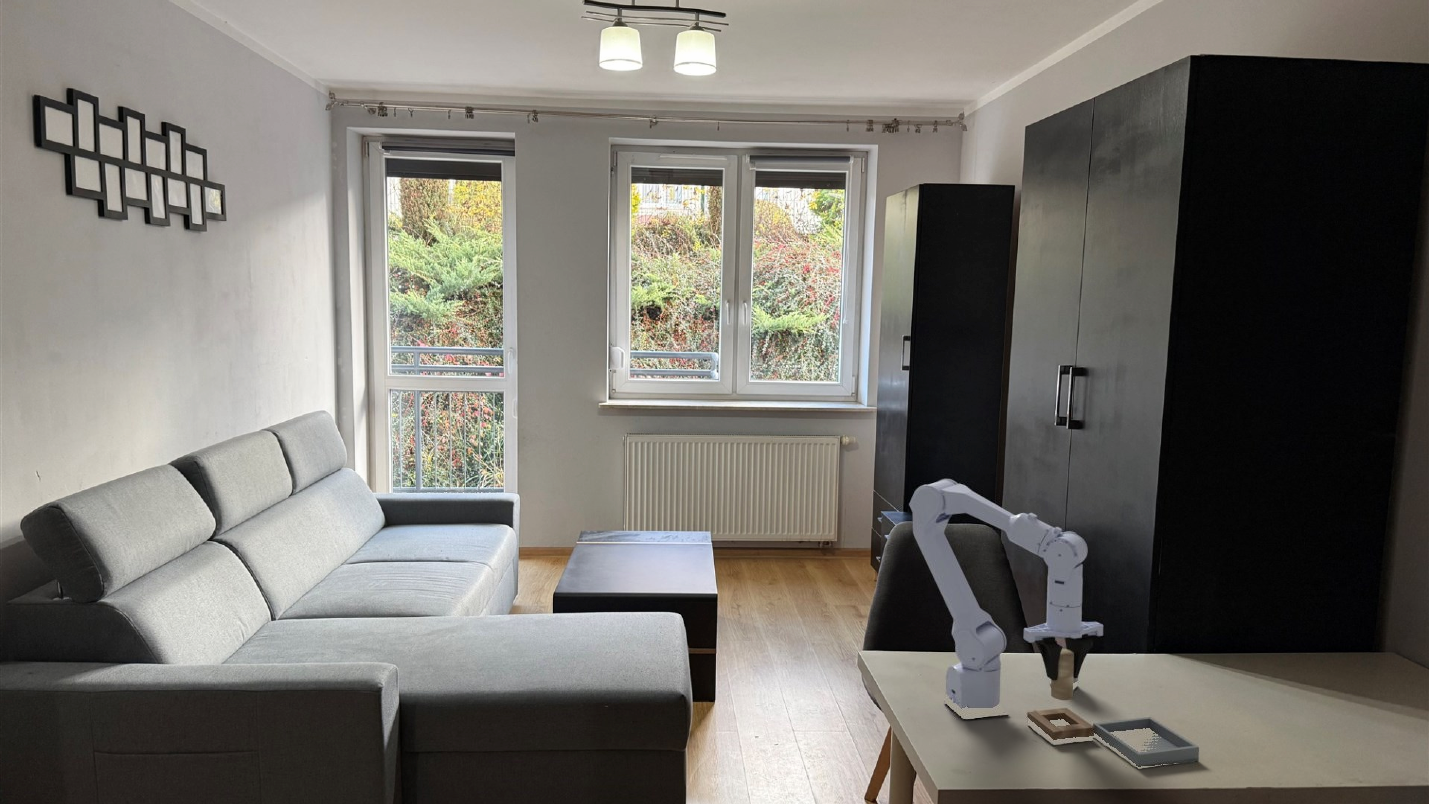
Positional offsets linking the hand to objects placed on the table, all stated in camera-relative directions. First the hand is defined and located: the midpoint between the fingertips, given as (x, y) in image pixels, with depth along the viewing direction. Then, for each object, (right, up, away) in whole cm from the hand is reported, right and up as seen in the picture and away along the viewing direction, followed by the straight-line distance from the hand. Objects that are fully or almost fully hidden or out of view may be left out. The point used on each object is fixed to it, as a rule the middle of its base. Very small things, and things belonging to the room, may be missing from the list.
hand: (1062, 677), depth 155 cm
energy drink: (+9, -9, +21) cm, 25 cm away
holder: (0, -10, +1) cm, 10 cm away
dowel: (0, -3, 0) cm, 3 cm away
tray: (+12, -11, -5) cm, 17 cm away
